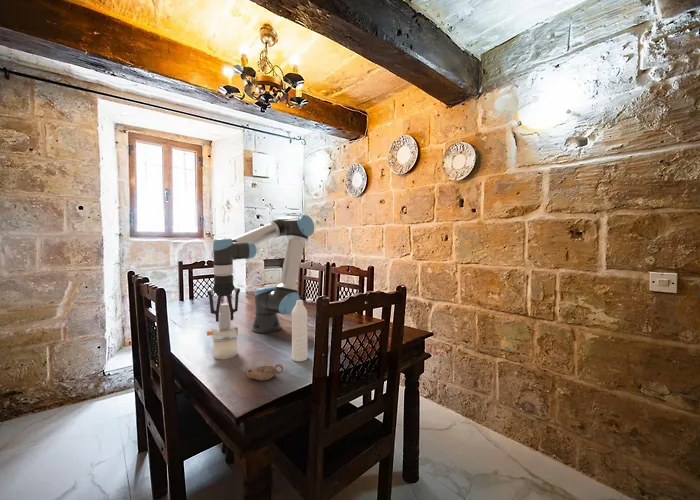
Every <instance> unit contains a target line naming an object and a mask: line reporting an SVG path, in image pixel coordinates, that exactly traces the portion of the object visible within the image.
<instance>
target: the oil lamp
mask: <svg viewBox="0 0 700 500" xmlns="http://www.w3.org/2000/svg"><path fill="white" fill-rule="evenodd" d="M278 367H279V368H280V369H281V370H280V371H278V370H277V368H278ZM283 371H284V366H283V365H282V364H281V363H278V364H276V365H275V366H272V365H262V366H256V368H250V369H248V370H246V376H247V377H248V378H251V379H253V380H257V381H269V380H271V379H272V378H273V377H274V376H275V375H281V374H282V373H283Z"/></svg>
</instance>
